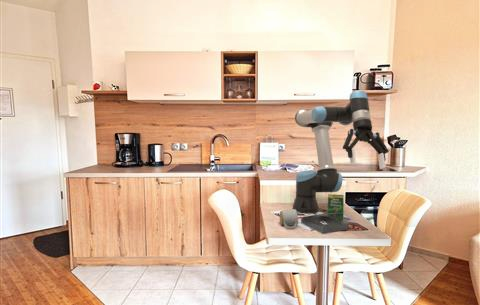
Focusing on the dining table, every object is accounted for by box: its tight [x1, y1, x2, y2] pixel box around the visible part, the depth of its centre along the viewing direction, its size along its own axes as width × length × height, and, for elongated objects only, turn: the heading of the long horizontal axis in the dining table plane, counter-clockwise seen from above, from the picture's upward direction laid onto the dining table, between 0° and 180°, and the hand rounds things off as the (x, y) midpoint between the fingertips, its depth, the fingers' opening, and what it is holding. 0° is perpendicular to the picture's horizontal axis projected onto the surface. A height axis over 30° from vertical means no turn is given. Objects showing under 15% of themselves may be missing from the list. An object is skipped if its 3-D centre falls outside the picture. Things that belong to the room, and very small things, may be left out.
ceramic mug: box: [279, 208, 299, 230], centre depth 127 cm, size 11×8×8 cm
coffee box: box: [327, 193, 345, 220], centre depth 137 cm, size 8×3×13 cm, turn 66°
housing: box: [300, 212, 350, 235], centre depth 127 cm, size 16×16×3 cm
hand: (368, 166), depth 108 cm, fingers open, 13 cm apart
